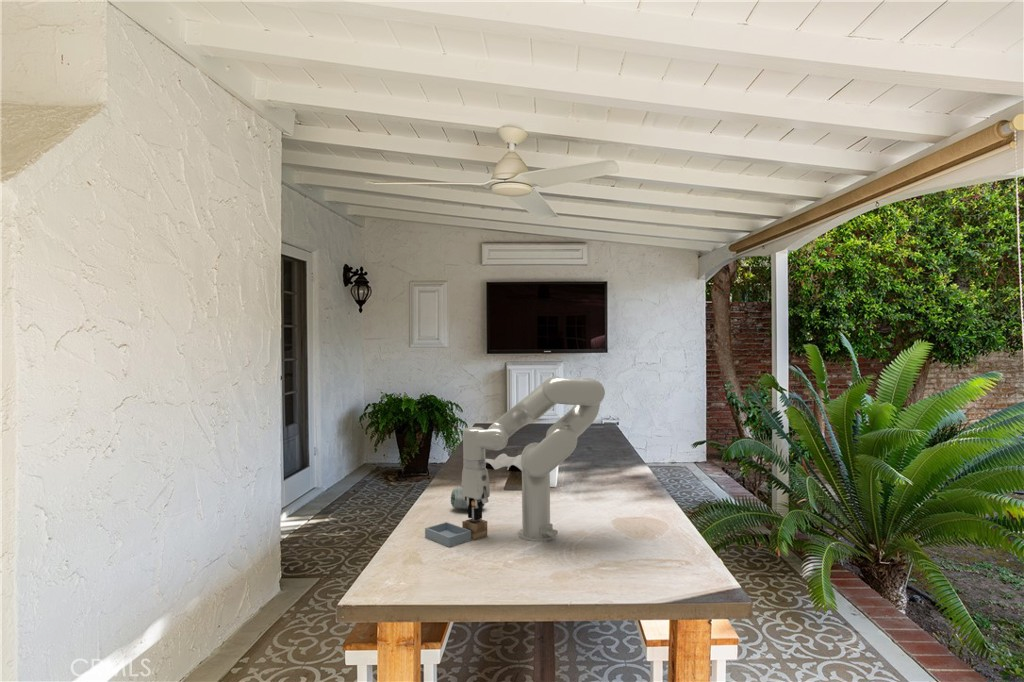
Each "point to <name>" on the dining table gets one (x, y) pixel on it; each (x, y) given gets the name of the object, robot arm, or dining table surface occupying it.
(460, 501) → the spool
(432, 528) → the tray
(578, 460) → the dining table surface
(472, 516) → the lock pin
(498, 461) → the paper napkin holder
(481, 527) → the brown wooden socket block
